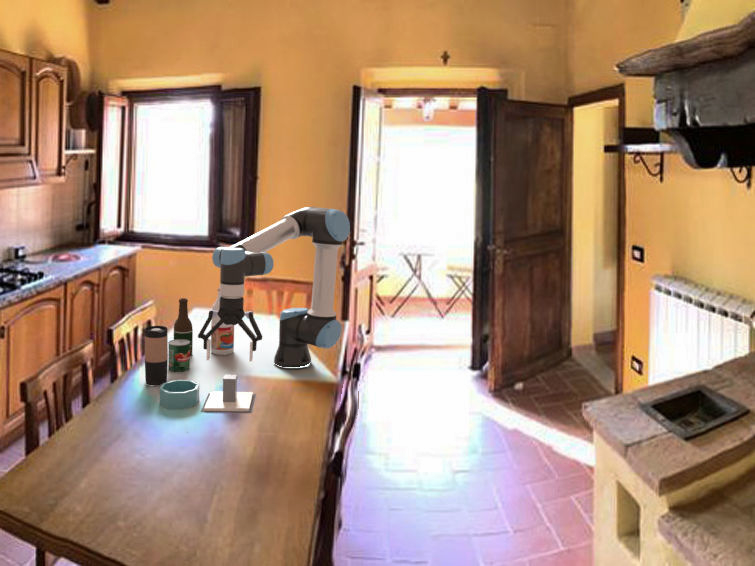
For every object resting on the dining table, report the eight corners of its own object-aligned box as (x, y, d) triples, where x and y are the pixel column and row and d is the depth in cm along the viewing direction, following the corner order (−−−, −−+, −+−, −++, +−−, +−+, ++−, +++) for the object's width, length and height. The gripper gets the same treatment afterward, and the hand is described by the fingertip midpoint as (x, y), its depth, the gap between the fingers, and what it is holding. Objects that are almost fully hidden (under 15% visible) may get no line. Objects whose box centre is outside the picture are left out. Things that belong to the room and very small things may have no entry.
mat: (256, 395, 196) (256, 393, 196) (251, 414, 180) (251, 412, 180) (208, 394, 194) (208, 393, 194) (200, 413, 178) (200, 412, 178)
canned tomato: (183, 374, 212) (183, 346, 210) (164, 371, 213) (164, 343, 211) (193, 367, 219) (194, 340, 217) (175, 365, 221) (175, 338, 219)
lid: (252, 394, 195) (253, 370, 193) (249, 411, 181) (249, 384, 180) (211, 394, 193) (211, 369, 191) (204, 410, 179) (204, 384, 178)
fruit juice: (219, 347, 246) (220, 284, 241) (238, 351, 243) (239, 287, 238) (206, 353, 238) (207, 288, 233) (224, 356, 234) (226, 291, 229)
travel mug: (148, 378, 205) (148, 325, 202) (170, 378, 206) (170, 326, 202) (141, 385, 198) (141, 330, 194) (164, 386, 198) (164, 331, 195)
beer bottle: (189, 359, 229) (189, 301, 224) (170, 357, 229) (170, 300, 224) (195, 353, 236) (196, 297, 232) (177, 352, 236) (177, 296, 232)
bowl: (201, 397, 191) (201, 380, 190) (194, 410, 180) (194, 393, 179) (165, 396, 190) (165, 379, 189) (156, 410, 178) (156, 392, 177)
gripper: (271, 295, 186) (269, 357, 190) (193, 292, 182) (192, 354, 186) (270, 300, 179) (267, 364, 182) (189, 296, 175) (188, 361, 179)
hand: (229, 359), depth 184 cm, fingers open, 13 cm apart
